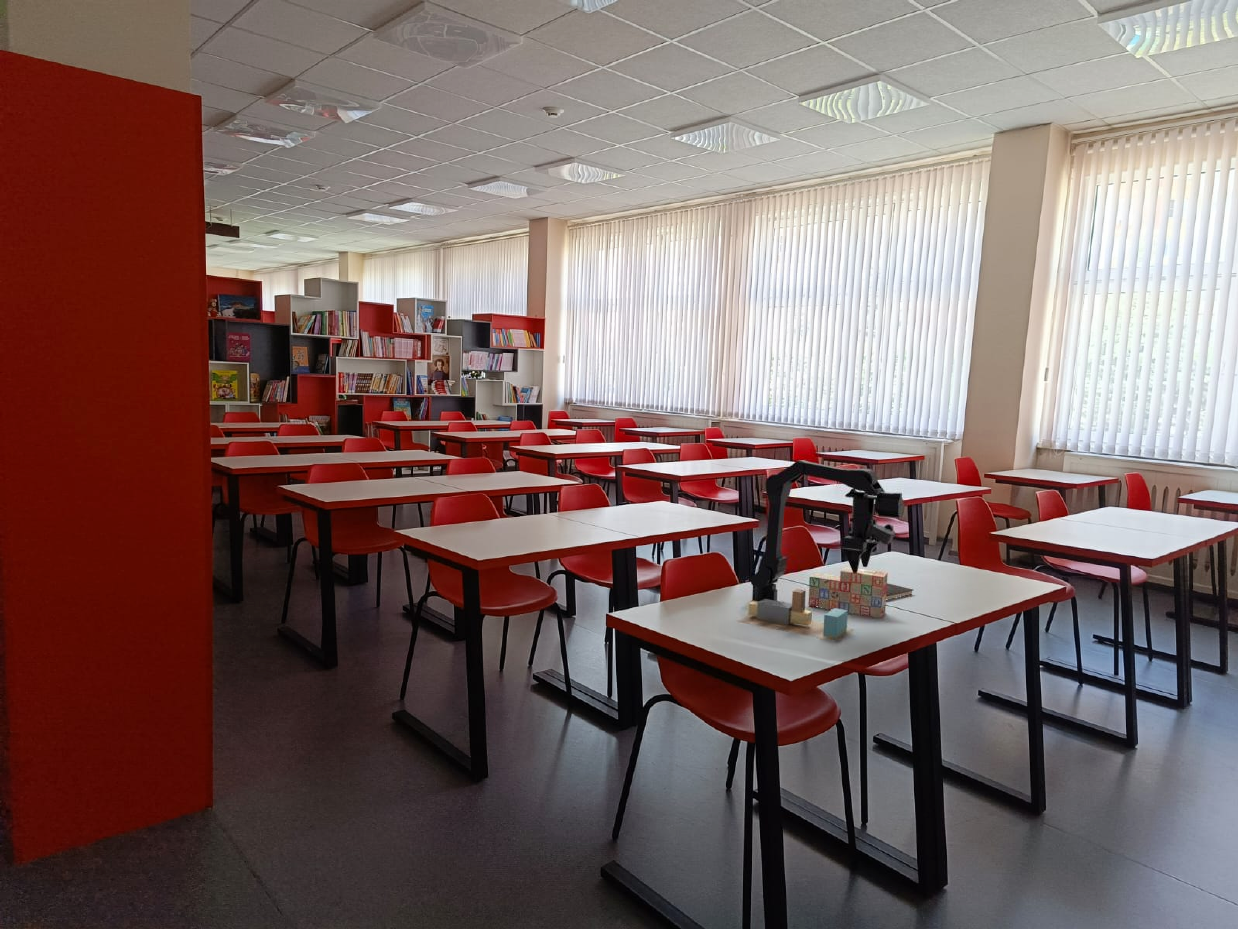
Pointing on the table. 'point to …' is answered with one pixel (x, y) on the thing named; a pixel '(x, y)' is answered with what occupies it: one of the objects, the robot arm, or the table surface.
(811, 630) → the base board
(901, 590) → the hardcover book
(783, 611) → the sleeve
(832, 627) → the socket block
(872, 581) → the stack of blocks
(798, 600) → the l-shaped wooden step
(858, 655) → the table surface
